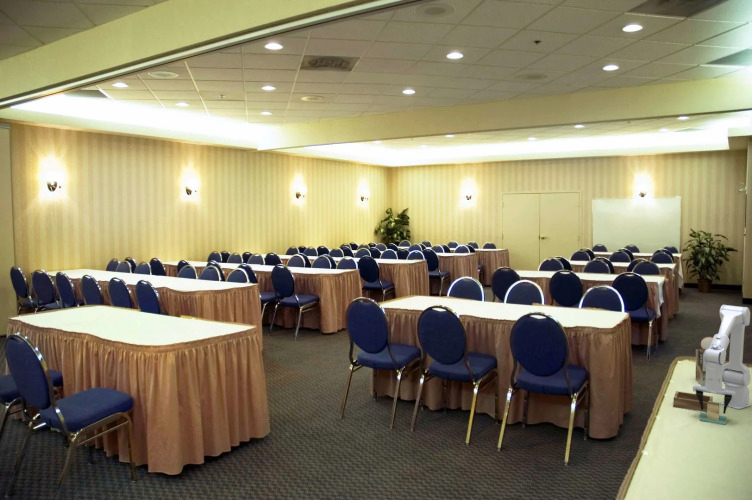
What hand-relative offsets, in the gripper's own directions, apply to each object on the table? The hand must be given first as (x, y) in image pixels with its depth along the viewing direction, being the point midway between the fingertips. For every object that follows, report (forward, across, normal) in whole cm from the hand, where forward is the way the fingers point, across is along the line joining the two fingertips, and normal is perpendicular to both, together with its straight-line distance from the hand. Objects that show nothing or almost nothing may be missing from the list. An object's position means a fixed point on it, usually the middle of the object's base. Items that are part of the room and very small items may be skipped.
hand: (713, 410), depth 221 cm
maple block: (+3, 0, 0) cm, 3 cm away
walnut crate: (+3, -8, +12) cm, 15 cm away
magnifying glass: (+4, -5, +65) cm, 65 cm away
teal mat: (+3, 0, 0) cm, 3 cm away
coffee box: (+4, -5, +50) cm, 50 cm away
